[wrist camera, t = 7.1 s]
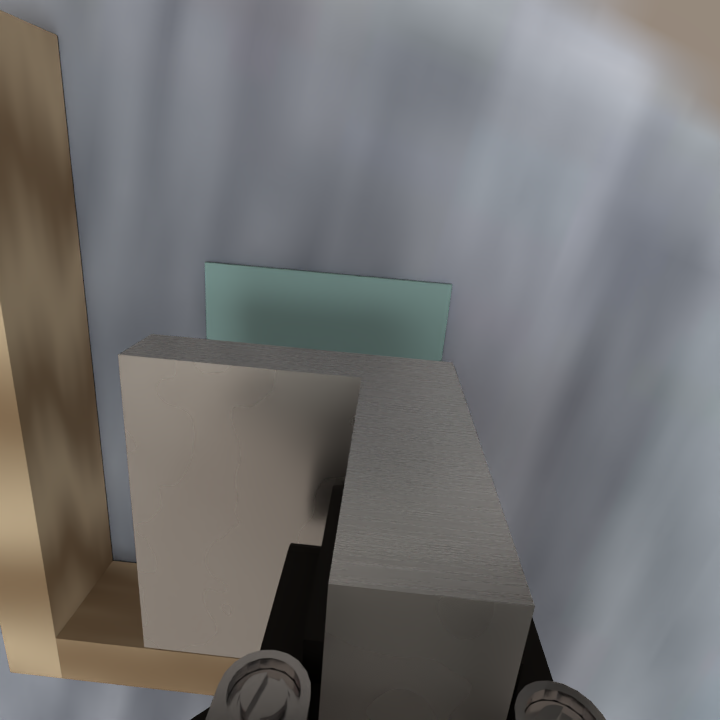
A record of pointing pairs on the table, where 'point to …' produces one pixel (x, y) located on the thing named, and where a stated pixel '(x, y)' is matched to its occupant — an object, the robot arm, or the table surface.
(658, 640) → the table surface
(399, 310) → the teal square plate
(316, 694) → the robot arm
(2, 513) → the wooden l-shaped piece
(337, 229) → the table surface
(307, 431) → the bracket
